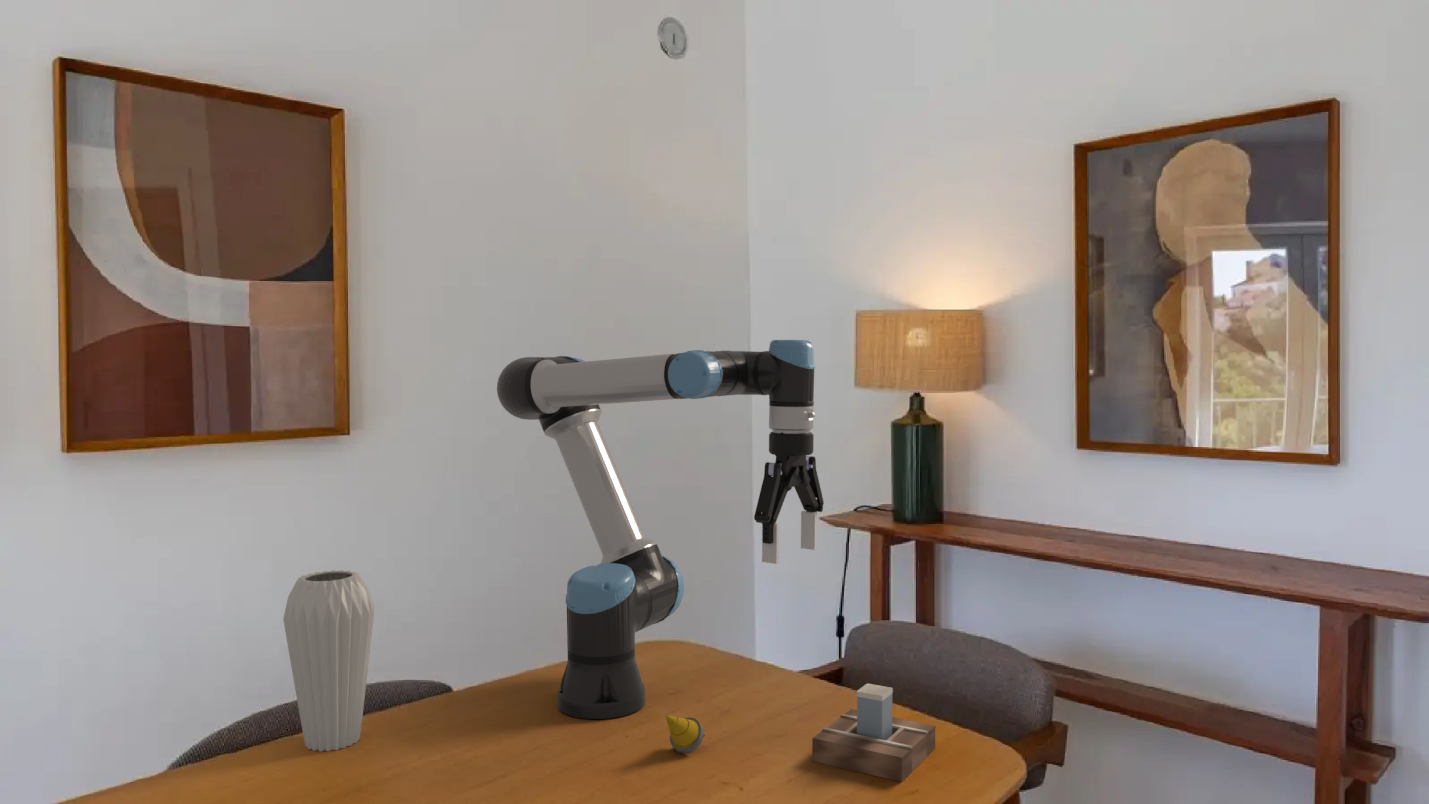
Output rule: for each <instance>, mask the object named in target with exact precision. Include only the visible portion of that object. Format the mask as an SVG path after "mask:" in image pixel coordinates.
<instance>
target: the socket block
mask: <svg viewBox="0 0 1429 804" xmlns="http://www.w3.org/2000/svg"><path fill="white" fill-rule="evenodd" d="M811 741H812V742H811V743H812V746H811V748H812V749H811V750H812V751H811V752H812V756H811V757H812V758H811V759H812V762H814V763H818V764H819V763H820V764H823V765H826V766H832V767H836V768H839V769H840V768H841V769H844V770H848V771H853V772H858V773H862V774H865V775H870V776H874V777H878V778H882V779H883V778H884V779H886V780H891V781H895V782H899V783H900V782H901V783H902V782H904V781H905V780H906V779H907V777H908V776H909V775H911V774H912V772H914V770H916V768H918V767H919V765H920V764H921V763H922V762H924V760H925V759H927V757H929V755H931V754H932V752H933V751H935V749H936V725H933V724H928V723H924V722H918V721H913V720H907V719H904V718H898V717H893V716H892V736H890V737H889V738H888V739H887V740H881V739H877V738H872V737H867V736H863V735H858V734H857V709H853V708H851V709H849V710H848V711H846V712H845V713H841V714H840V716H839V717H838V718H837V719H836V720H835V721H833V722H832V723H831V724H829V725H828V726H826V727H824V726H823V727H822V728H821V731H820V732H819V733H817V734H815V735H814V736H813V737H812V739H811Z"/></svg>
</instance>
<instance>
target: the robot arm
mask: <svg viewBox="0 0 1429 804" xmlns="http://www.w3.org/2000/svg"><path fill="white" fill-rule="evenodd" d="M814 353H815V351H814V344H813V343H812V342H811V341H809V340H806V339H772V340H771V341H770V342H769V348H768V350H766V351H746V350H719V351H717V350H715V351H712V350H711V351H709V350H705V351H704V350H703V349H702V350H701V349H700V350H698V349H697V350H696V349H695V350H687V351H685V352H679V353H678V352H677V353H665V354H656V355H646V356H645V355H643V356H633V357H624V358H623V357H621V358H612V359H600V360H591V361H590V360H588V361H585V360H583V359H581V358H577V357H572V356H568V355H567V356H566V355H559V356H553V357H551V356H549V357H548V356H545V357H543V356H542V357H539V356H537V357H536V356H526V357H521V358H517V359H515V360H513V361H512V362H510V363H508V364H506V366H505V367H504V368H503V369H502V371H501V372H500V374H499V377H498V378H497V383H496V393H497V397H498V400H499V402H500V404H501V406H502V407H503V409H504V410H505V411H506V412H507V413H509V414H510V415H512V416H513V417H516V418H517V419H521V420H528V421H529V420H530V421H532V420H538V421H539V423H540V424H539V425H541V429H542V431H543V433H544V435H545V436H546V437H549V438H551V439H553V440H555V442H556V444H557V447H558V450H559V451H560V453H561V454H560V455H561V456H562V458H563V459H562V460H563V461H564V463H565V466H566V468H567V472H568V473H569V476H570V478H571V481H572V484H573V486H574V487H575V491H576V493H577V495H578V498H579V500H580V503H581V506H582V509H583V510H584V513H585V515H586V518H587V520H588V523H589V525H590V527H591V528H590V529H591V530H592V533H593V534H594V537H595V539H596V542H597V545H598V546H599V550H600V552H601V554H602V558H601V560H600V561H601V562H600V563H598V564H597V565H588V566H585V567H583V568H581V569H578V570H577V571H575V572H574V573H573V574H571V576H569V578H568V581H567V584H566V594H565V604H566V631H567V632H566V635H567V637H566V639H567V641H566V642H567V644H566V645H567V662H566V666H565V670H564V671H563V675H562V679H561V684H560V686H559V689H558V692H557V707H558V710H560V711H561V712H562V713H563V714H564V715H568V716H570V717H573V718H580V719H585V720H586V719H587V720H597V719H598V720H603V719H604V720H605V719H613V718H619V717H620V718H621V717H625V716H628V715H631V714H633V713H636V712H639V710H641V709H642V708H644V706H645V705H646V687H645V684H644V683H643V681H642V676H641V673H640V671H639V666H638V663H637V660H636V640H635V639H636V634H635V633H637V632H639V631H641V630H644V629H646V628H648V627H651V626H652V625H656V624H658V623H661V622H663V621H664V620H665V619H667V618H668V617H670V616H671V615H673V614H674V613H675V612H676V611H677V609H678V608H679V607H680V606H681V603H682V600H683V597H684V594H685V582H684V581H685V580H684V578H683V574H682V572H681V569H680V568H679V566H678V565H677V564H676V563H675V562H674V561H673V560H672V559H671V560H670V559H669V558H668V557H666V556H664V555H662V553H661V550H660V548H659V546H658V543H657V542H656V541H653V540H650V539H649V538H647V537H646V536H645V534H644V532H643V528H642V526H641V524H640V522H639V518H638V517H637V515H636V512H635V509H634V507H633V504H632V502H631V499H630V497H629V495H628V493H627V490H626V488H625V485H624V483H623V480H622V479H621V478H622V477H621V476H620V473H619V471H618V469H617V466H616V464H615V462H614V459H613V456H612V454H611V451H610V449H609V446H608V445H607V442H606V439H605V437H604V435H603V433H602V430H601V427H600V425H599V420H600V417H601V414H602V410H601V407H600V405H609V404H624V403H625V404H626V403H638V402H639V403H640V402H650V401H651V402H652V401H662V400H663V401H665V400H686V399H687V400H688V399H691V400H695V399H705V398H712V397H723V396H724V397H725V396H727V397H728V396H736V395H738V396H741V395H742V396H743V395H744V396H749V395H751V396H753V395H754V396H768V399H769V401H768V402H769V403H768V405H769V406H768V407H769V408H768V411H769V413H768V414H769V416H768V428H769V429H770V430H772V431H771V432H770V433H769V434H768V452H769V454H771V455H774V456H775V462H769V461H767V462H765V464H764V474H763V479H762V483H761V488H760V491H759V496H758V499H757V503H756V508H755V512H754V516H753V517H754V521H755V522H756V523H758V524H759V523H760V524H761V525H762V527H761V529H762V531H761V532H762V536H761V541H762V542H761V544H762V545H761V555H762V556H761V563H766V564H774V565H777V564H779V563H780V562H779V559H780V548H779V547H780V544H779V543H780V535H779V534H780V523H777V520H778V518H779V515H780V512H781V509H782V507H783V504H784V503H785V498H786V497H787V494H788V492H789V491H791V490H792V488H794V489H795V492H796V494H797V496H798V499H799V501H800V503H801V506H802V507H803V509H804V510H802V511H801V512H800V549H805V550H812V551H816V550H817V546H818V545H817V543H818V542H817V541H818V540H817V538H818V537H817V536H818V535H817V533H818V532H817V529H818V528H817V527H818V524H817V523H818V512H819V513H822V512H823V510H824V503H825V501H824V497H823V493H822V489H821V484H820V479H819V476H818V472H817V461H816V460H817V459H816V457H815V456H811V455H812V454H813V453H814V433H813V432H811V430H813V429H814V418H815V417H816V414H815V412H814V403H815V401H814V397H815V394H814V391H815V369H816V365H815V354H814Z"/></svg>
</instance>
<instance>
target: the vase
mask: <svg viewBox="0 0 1429 804" xmlns="http://www.w3.org/2000/svg"><path fill="white" fill-rule="evenodd" d="M287 597H288V598H287V600H286V606H285V609H284V615H283V619H282V620H283V625H284V632H285V636H286V642H287V649H288V653H289V659H290V666H291V672H292V677H293V678H292V679H293V684H294V689H295V696H296V700H297V701H296V702H297V707H298V713H299V720H300V725H301V730H302V734H303V735H302V736H303V741H304V746H305V748H307V750H312V752H315V751H318V752H324V751H326V752H331V751H332V750H333V751H338V750H339V749H346V748H347V747H352V746H353V744H356V743H357V744H358V741H359V740H361V733H362V725H363V724H362V723H363V716H364V705H365V698H366V697H365V696H366V691H367V690H366V688H367V681H368V680H367V679H368V670H369V661H370V652H371V644H372V635H373V624H374V617H375V606H374V603H373V599H372V596H371V593H370V589H369V587H368V586H367V584H366V583H365V581H364V580H363V578H362V576H361V575H360V574H359V572H357V571H351V570H343V569H342V570H334V569H333V570H330V571H329V570H328V571H327V570H324V571H321V572H320V571H317V572H314V573H308V574H305V575H301V576H300V577H298V578H297V580H296V582H295V583H294V584H293V587H292V588H291V591H290V592H289V594H288V596H287Z"/></svg>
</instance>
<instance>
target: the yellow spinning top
mask: <svg viewBox="0 0 1429 804" xmlns="http://www.w3.org/2000/svg"><path fill="white" fill-rule="evenodd" d="M665 718H666V721H667V726H668V729H669V730H668V731H669V734H670V736H669V742H670V745H671V746H672V748H673V749H674V750H675V751H677V752H678V753H680V754H684V755H685V754H690V753H692V752H695V750H697V749H698V748H699V746H700V745H701V743H702V741H703V739H704V737H705V736H706V734H705V733H704V727H703V725H702V724H701V722H700V721H699V720H697V719H696V718H693V717H685V718H684V717H683V718H682V717H678V716H675V715H674V716H673V715H665Z"/></svg>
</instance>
